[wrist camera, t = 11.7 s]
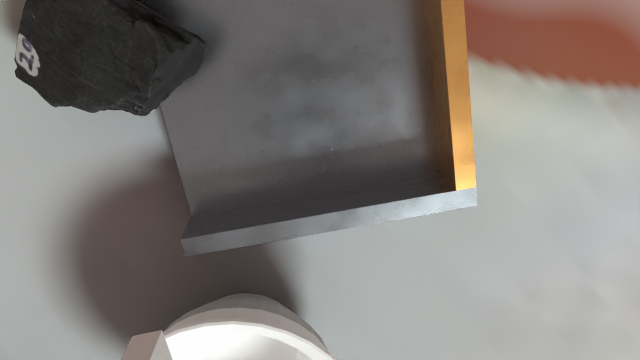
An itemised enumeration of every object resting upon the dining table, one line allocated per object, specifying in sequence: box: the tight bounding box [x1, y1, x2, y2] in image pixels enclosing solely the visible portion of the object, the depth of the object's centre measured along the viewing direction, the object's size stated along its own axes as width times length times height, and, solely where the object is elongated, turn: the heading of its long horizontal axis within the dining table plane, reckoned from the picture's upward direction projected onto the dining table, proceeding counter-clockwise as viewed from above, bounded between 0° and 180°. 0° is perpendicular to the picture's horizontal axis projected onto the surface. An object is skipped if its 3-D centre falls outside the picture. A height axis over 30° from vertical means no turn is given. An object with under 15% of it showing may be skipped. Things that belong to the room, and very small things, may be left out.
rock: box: [15, 0, 208, 116], centre depth 26 cm, size 11×8×10 cm
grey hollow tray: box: [134, 0, 477, 257], centre depth 29 cm, size 18×17×5 cm
